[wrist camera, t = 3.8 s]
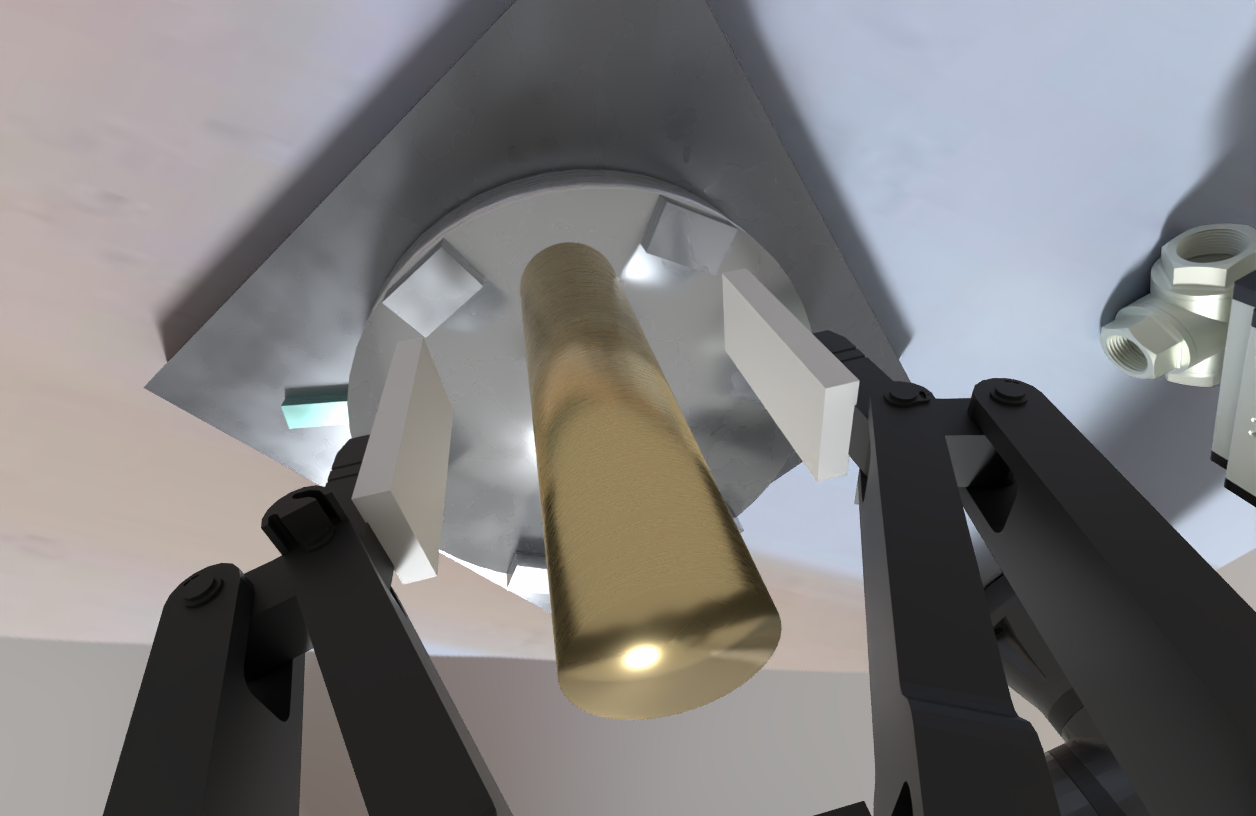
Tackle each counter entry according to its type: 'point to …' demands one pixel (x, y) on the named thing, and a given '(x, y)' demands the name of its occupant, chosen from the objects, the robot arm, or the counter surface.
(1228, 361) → the ball valve
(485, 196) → the silver tabbed disc
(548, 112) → the base plate
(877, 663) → the robot arm
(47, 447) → the counter surface
